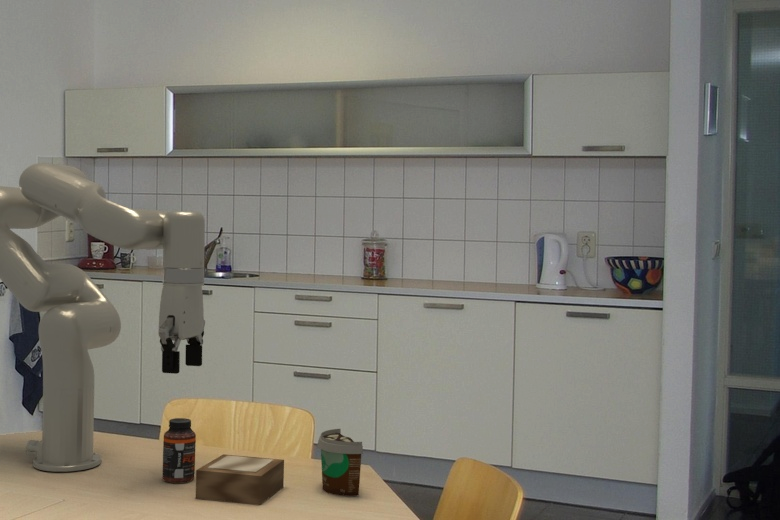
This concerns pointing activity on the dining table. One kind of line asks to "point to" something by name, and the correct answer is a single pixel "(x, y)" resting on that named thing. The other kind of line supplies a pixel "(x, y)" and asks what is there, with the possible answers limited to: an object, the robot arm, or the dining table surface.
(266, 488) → the walnut base
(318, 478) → the dining table surface
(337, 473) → the food container
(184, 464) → the supplement bottle
